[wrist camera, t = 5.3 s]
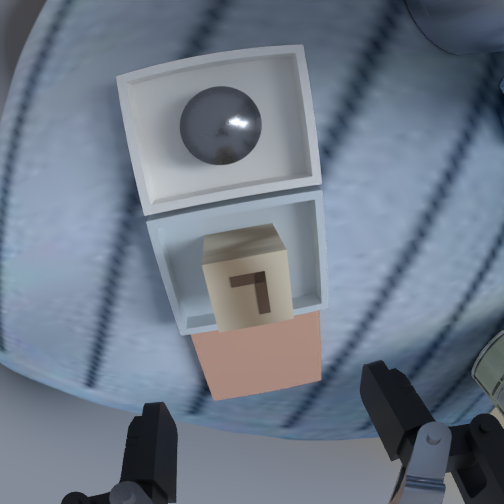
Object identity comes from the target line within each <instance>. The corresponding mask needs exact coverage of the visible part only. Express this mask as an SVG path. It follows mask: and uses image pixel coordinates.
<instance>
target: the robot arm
mask: <svg viewBox="0 0 504 504" xmlns="http://www.w3.org/2000/svg"><path fill="white" fill-rule="evenodd" d="M405 1H406V3H407V6H408V9H409V11H410V13H411V15H412V17H413V19H414V21H415V22H416V24H417V25H418V27H419V28H420V29H421V31H422V32H423V33H424V34H425V35H426V36H427V38H429V39H430V40H431V41H432V42H433V43H434V44H435V45H437V46H438V47H440V48H441V49H443V50H444V51H447V52H449V53H451V54H456V55H463V54H473V53H484V52H499V51H504V0H405ZM360 395H361V399H362V402H363V404H364V406H365V408H366V410H367V412H368V414H369V416H370V418H371V420H372V422H373V424H374V426H375V428H376V430H377V432H378V434H379V437H380V439H381V441H382V443H383V445H384V447H385V449H386V451H387V453H388V455H389V457H390V460H391V461H394V460H396V459H399V458H400V460H401V462H402V466H401V469H400V472H399V475H398V478H397V481H396V484H395V487H394V490H393V492H392V495H391V498H390V501H389V503H388V504H442V502H443V498H444V494H445V488H446V487H445V484H443V480H444V476H445V473H447V472H451V474H452V476H453V478H454V480H455V482H456V484H457V487H458V488H459V491H460V493H461V495H462V498H463V500H464V502H465V504H504V429H503V428H502V426H501V424H500V423H499V421H498V420H497V419H496V418H495V417H494V416H493V415H490V414H479V415H477V416H476V417H474V418H473V420H472V421H471V423H470V424H465V425H459V426H452V427H449V426H446V425H445V424H443V423H440V422H436V421H435V420H434V418H433V417H432V415H431V414H430V412H429V411H428V409H427V408H426V406H425V405H424V403H423V401H422V400H421V398H420V397H419V395H418V394H417V393H416V391H415V389H414V388H413V386H411V383H410V382H409V380H408V379H407V377H406V376H405V374H403V373H402V372H400V371H399V370H397V369H396V368H394V369H391V370H389V369H388V368H387V366H386V365H385V363H384V362H383V361H382V360H378V361H375V362H372V363H369V364H365V365H364V366H363V370H362V378H361V385H360ZM177 441H178V434H177V428H176V424H175V422H174V420H173V418H172V416H171V415H170V413H169V411H168V409H167V407H166V405H165V403H164V402H155V403H145V404H144V407H143V413H142V416H135V417H134V419H133V421H132V422H131V423H130V425H129V427H128V433H127V439H126V448H125V452H124V458H123V465H122V472H121V478H120V482H119V483H118V484H116V485H115V486H114V487H113V488H112V489H111V491H110V492H108V493H105V494H100V495H96V496H91V497H87V496H86V495H84V494H83V493H80V492H71V493H69V494H67V495H66V496H65V497H64V498H63V500H62V503H61V504H168V503H176V477H177Z"/></svg>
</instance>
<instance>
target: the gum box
mask: <svg viewBox="0 0 504 504" xmlns="http://www.w3.org/2000/svg"><path fill="white" fill-rule="evenodd" d="M499 87H500V88H501V90H502V92H503V94H504V79H503V80H502V82H501V83H500V85H499Z"/></svg>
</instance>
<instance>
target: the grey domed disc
mask: <svg viewBox="0 0 504 504" xmlns="http://www.w3.org/2000/svg"><path fill="white" fill-rule="evenodd" d="M261 130H262V121H261V115H260V112H259V110H258V108H257V106H256V104H255V103H254V101H253V100H252V99H251V98H250V97H249V96H248V95H246V94H245V93H244V92H242V91H240V90H238V89H235V88H232V87H226V86H217V87H211V88H208V89H205V90H203V91H201V92H199V93H198V94H196V95H195V96H194V97H193V98H192V99H191V100H190V101H189V102H188V103H187V105H186V106H185V108H184V110H183V112H182V115H181V119H180V134H181V138H182V141H183V143H184V145H185V147H186V148H187V149H188V151H189V152H190V153H191V154H192V155H193V156H194V157H196V158H197V159H199V160H201V161H203V162H205V163H208V164H212V165H228V164H232V163H235V162H237V161H239V160H241V159H243V158H244V157H246V156H247V155H248V154H249V153H250V152H251V151H252V150H253V149H254V147H255V146H256V144H257V142H258V140H259V138H260V135H261Z"/></svg>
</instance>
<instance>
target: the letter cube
mask: <svg viewBox="0 0 504 504" xmlns="http://www.w3.org/2000/svg"><path fill="white" fill-rule="evenodd" d="M202 268H203V272H204V277H205V281H206V285H207V289H208V293H209V297H210V300H211V304H212V308H213V312H214V316H215V320H216V324H217V327H218V331H219V333H220V332H226V331H232V330H238V329H243V328H249V327H254V326H259V325H265V324H270V323H275V322H280V321H285V320H290V319H294V314H293V304H292V294H291V284H290V275H289V266H288V257H287V249H286V247H285V246H284V244H283V242H282V240H281V238H280V236H279V235H278V233H277V231H276V229H275V227H274V225H273V224H272V223H269V224H263V225H258V226H252V227H247V228H241V229H236V230H230V231H225V232H219V233H214V234H209V235H204V243H203V255H202Z"/></svg>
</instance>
